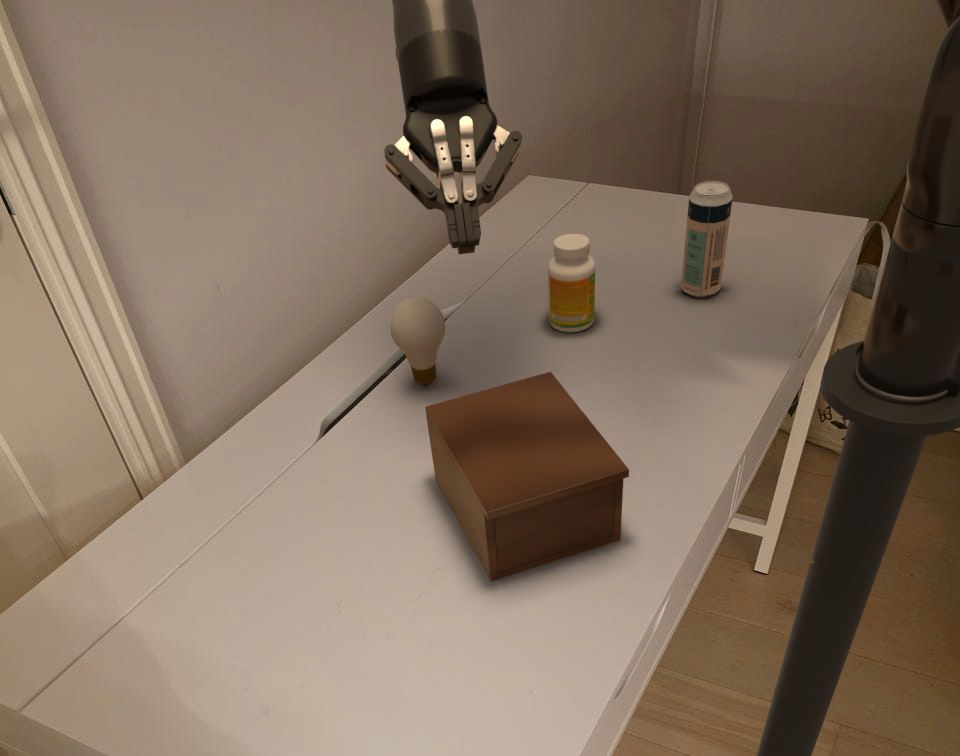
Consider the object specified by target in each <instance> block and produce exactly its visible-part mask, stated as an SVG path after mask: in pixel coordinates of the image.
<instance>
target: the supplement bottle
mask: <svg viewBox="0 0 960 756" xmlns="http://www.w3.org/2000/svg"><path fill="white" fill-rule="evenodd" d="M553 255H554V256H553V258H552V259H551V260H550V261H549V263H548V269H547V278H548V279H547V281H548V285H547V286H548V318H549V323H550V326H551V327H552V328H553V329H555V330H557V331H558V332H559V331H560V332H562V333H578V332H582V331H584V330H587V329H588V328H590V327H591V326H592V325H593V324H594V322H595V312H596V311H595V310H596V309H595V308H596V307H595V304H596V297H595V296H596V295H595V294H596V263H595V259H594V258H593V257H592V256H590V239H589V238H588V237H587V235H584V234H579V233H566V234H563V235H560V236H558V237H556V238H555V239H554V241H553Z"/></svg>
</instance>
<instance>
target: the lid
mask: <svg viewBox="0 0 960 756" xmlns="http://www.w3.org/2000/svg"><path fill="white" fill-rule="evenodd" d="M424 410H425V415H426V414H427V416H428V418H429V420H430V421H431V423H432V425H433V427H434V428H435V430H436V432H437V433H438V435H439V437H440V439H441V440H442V442H443V444H444V445H445V447H446V449H447V451H448V452H449V454H450V456H451V457H452V459H453V461H454V463H455V464H456V466H457V468H458V470H459V471H460V473H461V475H462V476H463V478H464V480H465V482H466V483H467V485H468V487H469V488H470V490H471V492H472V494H473V495H474V497H475V499H476V500H477V502H478V504H479V506H480V507H481V509H482V511H483V512H484V514H485V516H486V518H487V519H488V520H490V519H493V518H496V517H500V516H503V515H506V514H509V513H513V512H516V511H519V510H522V509H526V508H529V507H532V506H535V505H539V504H542V503H545V502H549V501H552V500H555V499H558V498H562V497H565V496H568V495H571V494H575V493H578V492H581V491H585V490H588V489H591V488H594V487H598V486H601V485H604V484H607V483H611V482H614V481H617V480H621V479H624V480H625V479H626V478H629V477H630V469H629V468H628V466H627V465H626V463H625V462H624V461H623V460H622V459H621V457H620V456H619V455H618V454H617V452H616V451H615V450H614V449H613V448H612V446H611V445H610V443H609V442H608V441H607V440H606V439H605V437H604V436H603V435H602V434H601V432H600V431H599V430H598V429H597V428H596V426H595V425H594V424H593V423H592V421H591V420H590V419H589V418H588V417H587V415H586V414H585V413H584V411H583V410H582V409H581V408H580V406H579V405H578V404H577V402H576V401H575V400H574V399H573V398H572V396H571V395H570V394H569V392H568V391H567V390H566V388H564V386H563V385H562V384H561V382H560V381H559V380H558V378H556V377H555V375H554V374H553V372H552V371H548V372H544V373H540V374H537V375H533V376H530V377H526V378H521V379H518V380H514V381H512V382H509V383H504V384H501V385H498V386H494V387H490V388H486V389H483V390H479V391H476V392H472V393H468V394H465V395H460V396H457V397H454V398H450V399H447V400H444V401H440V402H436V403H433V404H428V405H425V406H424Z"/></svg>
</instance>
